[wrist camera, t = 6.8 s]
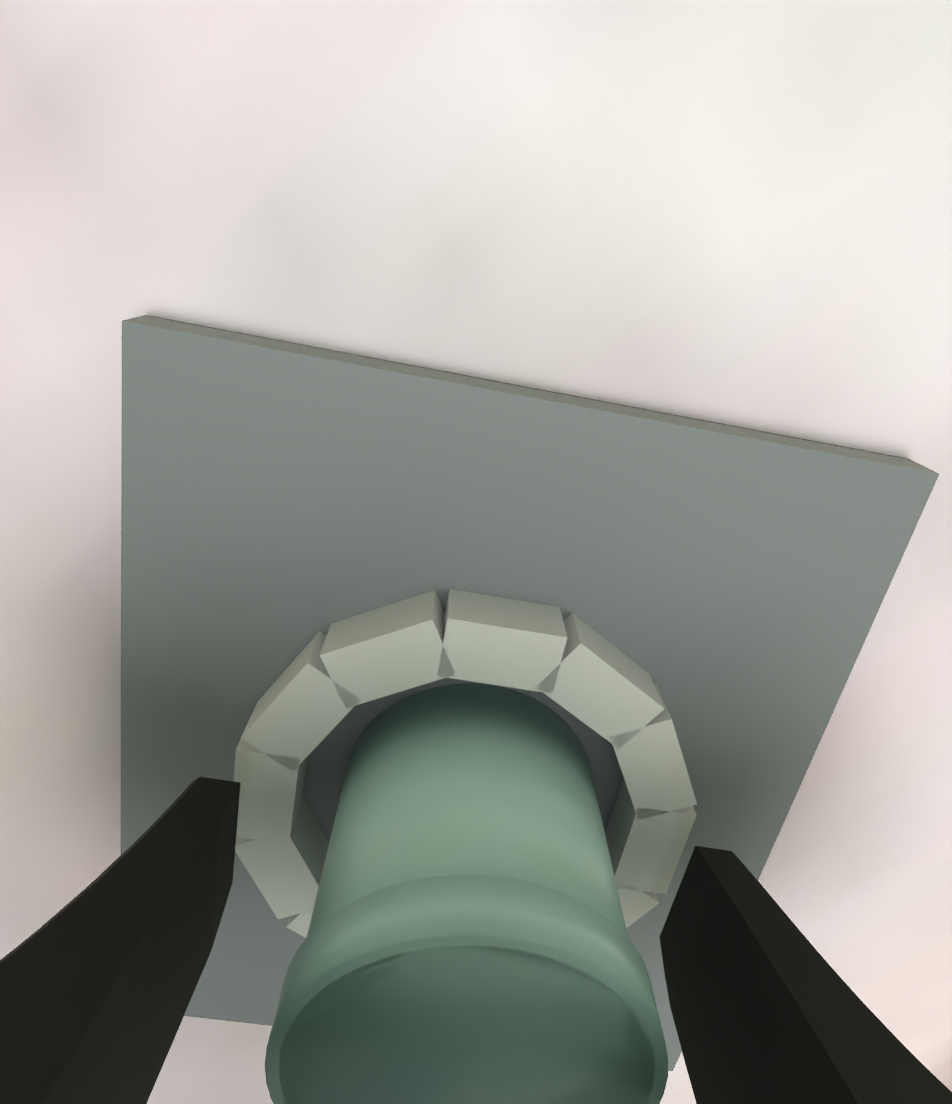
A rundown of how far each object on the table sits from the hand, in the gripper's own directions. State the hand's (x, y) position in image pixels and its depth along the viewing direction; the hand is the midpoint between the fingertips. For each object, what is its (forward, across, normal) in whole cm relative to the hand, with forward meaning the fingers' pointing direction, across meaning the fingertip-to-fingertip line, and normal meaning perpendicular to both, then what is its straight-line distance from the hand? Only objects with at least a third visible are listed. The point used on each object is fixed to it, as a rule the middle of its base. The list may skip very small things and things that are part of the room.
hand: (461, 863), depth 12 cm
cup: (+2, 0, 0) cm, 2 cm away
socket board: (+3, 0, 0) cm, 3 cm away
